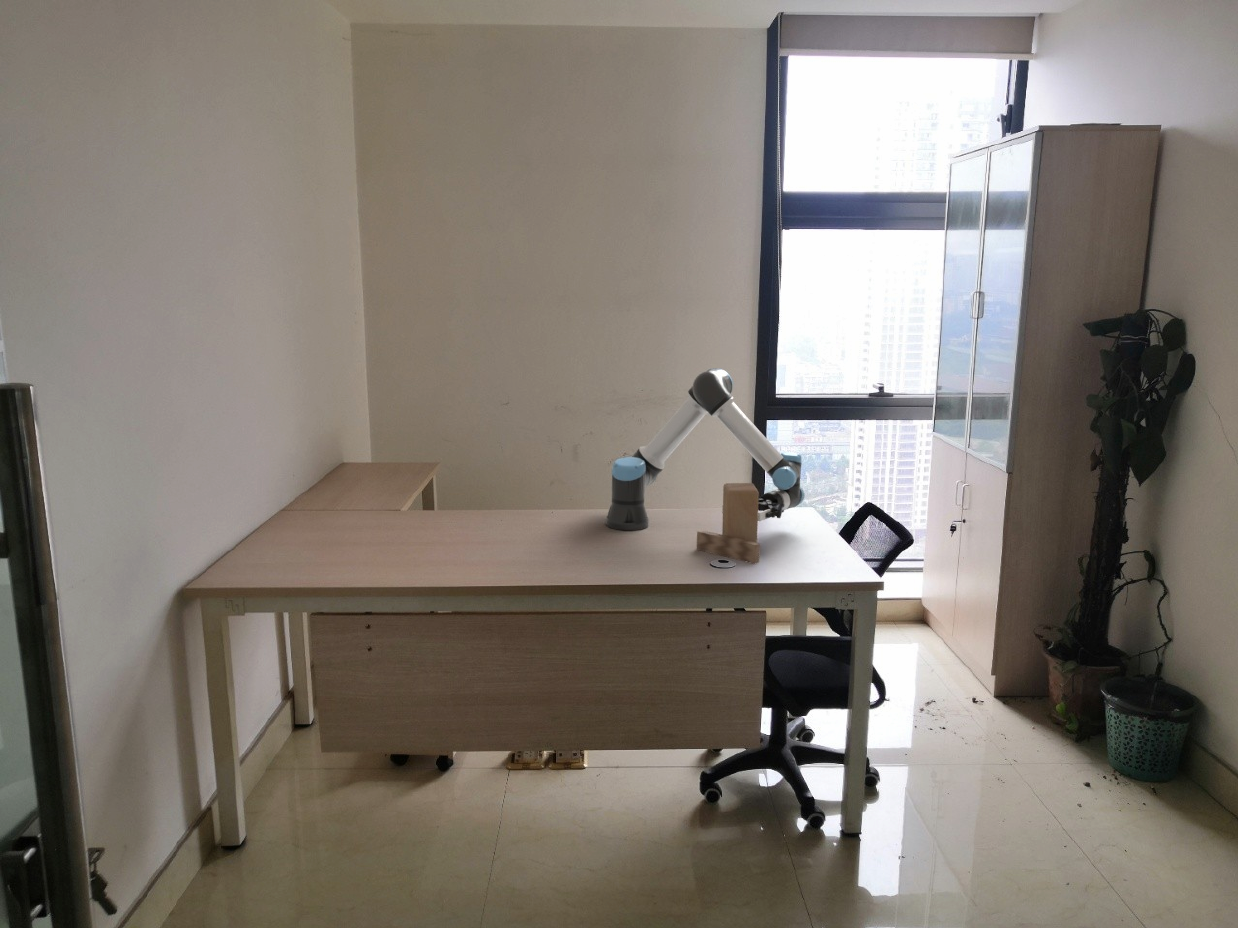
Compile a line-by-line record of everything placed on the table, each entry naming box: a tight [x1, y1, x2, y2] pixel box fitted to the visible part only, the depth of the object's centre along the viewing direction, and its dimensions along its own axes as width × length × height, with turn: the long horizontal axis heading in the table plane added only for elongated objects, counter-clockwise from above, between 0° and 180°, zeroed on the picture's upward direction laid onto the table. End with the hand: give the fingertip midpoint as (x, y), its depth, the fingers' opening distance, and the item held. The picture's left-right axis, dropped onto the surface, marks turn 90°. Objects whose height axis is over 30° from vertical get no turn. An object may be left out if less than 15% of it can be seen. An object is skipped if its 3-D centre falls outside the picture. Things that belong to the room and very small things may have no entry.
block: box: [721, 482, 760, 543], centre depth 288 cm, size 10×10×20 cm
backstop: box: [696, 529, 761, 565], centre depth 284 cm, size 22×2×6 cm, turn 50°
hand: (740, 513), depth 289 cm, fingers closed on block, 13 cm apart
